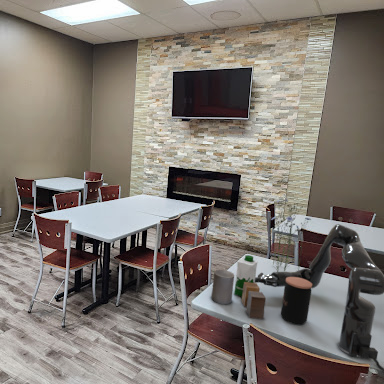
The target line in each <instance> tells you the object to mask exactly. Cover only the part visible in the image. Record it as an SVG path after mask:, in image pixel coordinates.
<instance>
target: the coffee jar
mask: <svg viewBox="0 0 384 384" xmlns="http://www.w3.org/2000/svg"><path fill="white" fill-rule="evenodd" d="M311 287H312V283H311V282H309V281H307V280H305V279H302V278H298V277H287V278H286V283H285V286H284V288H283V296H282V302H281V309H280V315H281V317H282V319H283V320H284V321H286V322H287V323H289V324H293V325H297V326H301V325H305V324H306V323H307V322H308V316H309V311H310V310H309V309H310V303H311V296H312V288H311Z"/></svg>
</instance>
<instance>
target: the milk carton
mask: <svg viewBox="0 0 384 384" xmlns="http://www.w3.org/2000/svg"><path fill="white" fill-rule="evenodd" d="M257 268H258V261H256V260H254V256H252V255H250V254H247V255H244V257H242V258H240V259H239V260H237V263H236V275H235V284H234V295H235V296H238V297H241V298H242V295H243V286H244V282H249V283H255V277H257V276H256V275H257Z"/></svg>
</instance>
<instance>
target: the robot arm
mask: <svg viewBox="0 0 384 384" xmlns="http://www.w3.org/2000/svg"><path fill="white" fill-rule="evenodd" d="M333 244H337V245H339V246H341V247H343V248H342V249H341V257H342V259H343V261H344V264H345V265H346V266H347V267H348V268H350V271H349V275H348V283H347V293H346V301H345V307H344V312H343V317H342V324H341V329H340V334H339V335H340V336H339V342H338V345H337V346H338V349H339V350H341V351H342V352H343V353H345V354H346V355H348V356H349V357H350V358H351V357H352V358H360V359H367V360H369V359H370V360H372V361H374V363H375V365H376V366H377V367H378V368H379V369H380V370H381V371H382V372H384V368H383V367H382V365H381V364H380V363H379V361H378V359H377V358H378V354H379V351H378V350H377V349H376V348H375V347H371V343H372V338H373V336H372V330H373V324H374V320H375V316H376V315H375V314H376V305H375V304H374V303H373V302H372V301H370V300H368V299H366V298H365V297H363V296H361V295H360V293H361V294H365V295H370V296H382V295H383V294H384V273H383V272H382V270H381V269H380V268H379V267H378V266H377V265H376V264H375V263H374V261H373V260H372V258H371V257H370V255H369V253H368V252H367V251H366V249H365V247H364V245H363V244H362V241H361V238H360V234H359V233H358V232H357V231H356V230H355V229H352V228H350V227H347V226H345V225H342V224H339V223H337V224H335V225H333V227H332V228H331V229H330V231H328V234H327V236H326V237H325V239H324V242H323V244H322V245H321V247H320V249H319V251H318V252H317V254H316V256H315V257H314V258H313V260H312V261H311V262H310V263H309V267H308V268H307V267H305V268H302V269H299V271H298V270H296V271H278V272H277V271H273V272H272V273H271V274H264V273H263V272H260V273H259V274H257V276H255V283H257V284H258V283H260V284H263V285H265V286H269V287H274V288H279V287H285V283H286V278H287V277H298V278H302V279H305V280H307V281H309V282H311V283H312V287H311V289H315V288H317V287H318V286H319V285H320V283H321V280H322V278H323V274H324V273H325V271H326V270H327V268H329V266H330V265H331V261H332V255H331V247H332V245H333Z"/></svg>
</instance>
